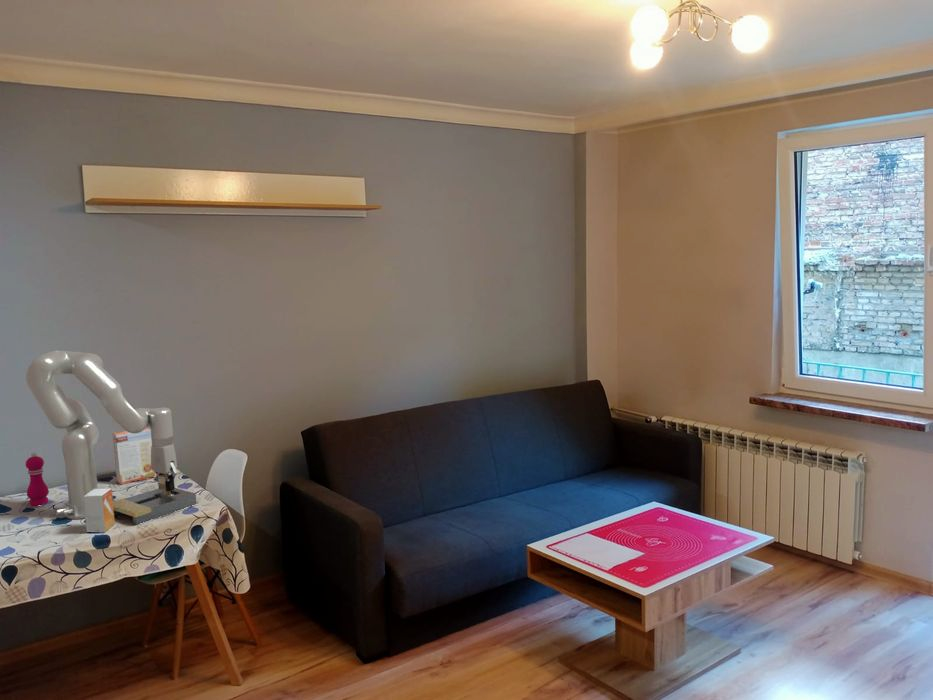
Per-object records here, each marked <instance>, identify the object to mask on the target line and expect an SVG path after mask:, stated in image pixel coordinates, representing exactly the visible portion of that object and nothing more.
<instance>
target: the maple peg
mask: <svg viewBox="0 0 933 700" xmlns="http://www.w3.org/2000/svg"><path fill="white" fill-rule="evenodd" d="M170 474H171V473H170ZM170 474H168V475H170ZM165 481H167V480H166V476H165V474H163V475H160V476H158V479H157V485H158V484H159V487H158V488H159V489H160V490H164V498H167V497H170V496H172V494H171V491H168V492H167V491H166V484H165ZM174 486H175V487H176V485H175V481H174Z"/></svg>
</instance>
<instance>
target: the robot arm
mask: <svg viewBox="0 0 933 700" xmlns="http://www.w3.org/2000/svg"><path fill="white" fill-rule="evenodd" d="M60 374H63V375H64V374H66V375H73V376H74V377H75V378H76V379H77V380H78V381H79V382H80V383H81V384H82V385H84V387H86V389H88V390H89V391H90V392H91V393H92V394H93V395H94V396H95V397H96V398H97V399H98V401H99V402H100V403H101V404H102V405H101V406H103V408H104V409H105V411H106V412H107V413H108V415H109V416H110V418H112V419H113V420H114V422H116V423H117V424H118V425H119V426H120V427H121V428H122V429H123V430H124V431H127V432H129V433H133V434H136V433H140V432H141V431H143V430H144V429H145V428H149V429H151V441H152V446H151V469H152V470H153V471H155V476H156V479H157V480H158V476H160V475H163V474H165V476H166V480H167V481H165V484H166V491H167V492H168V491H172V490H174V489H175V488H176V485H175V486H174V482H175V478H176V476H177V475H178V471H177V470H178V469H177V468H178V463H177V462H178V461H177V455H176V450H175V446H174V445H175V442H174V441H175V439H174V429H173V427H174V426H173V417H172V410H171V408H168V407H157V408H155V407H154V408H146V407H145V408H144V407H136V408H135V409H134V407H133V406H131V404H129V402H128V401H127V399H126V398H125V397H124V395H123V391H122V387H121V385H120V382H118V381H117V380H116V379H115V378H114V377H113V376H112V375H111V374H110V373H109V372H108V371H107V370H106V369H104V362H103V360H102V358H101V357H100V356H99V355H98V354H97V353H96V354H95V353H91V352H82V351H81V352H80V351H70V350H69V351H68V350H51V351H49V352H45V353H43V354H40V355H39V356H37V357H36V358H35V359H34V360H32V361H31V363H30V365H28V368H27V370H26V373H25V380H26V385H27V386H28V388H29V390H30V392H31V395H33V397H34V398H35V400H36V401H37V403H38V405H39V407H40V409H41V410H42V412H43V413H44V414H45V417H46V418H47V420H48V421H49V423H50V424H51V426H53V427H54V428H55V429H60V430H61V429H65V430H66V434H64V436H63V437H62V439H61V440H62V441H61V452H62V455H63V460H64V466H65V476H66V485H67V494H68V503H66V504H65V506H64V507H61V508H59V509H55V515H56V516H60V515H64V516H65V518H67V519H71V520H79V519H80V520H82V519H86V518H85V507H84V496H85V495H86V494H88V493H89V492H91V491H92V490H93V489H99V488H98V478H97V477H98V476H97V469H96V459H95V455H94V452H93V451H94V450H93V447H94V446H95V445H96V444H97V442H98V441H99V439H100V433H99V432H100V431H99V429H98V427H97V425H96V424H95V422H94V420H93V418H92V417H91V415H90V414H89V412H88V410H87V409H86V407H85V406H84V405H83V404H82V402H80V401H79V400H78V399H76V398H72V397H67V395H65V393H64V392H63V389H62V388H61V387H60V385H59V384H58V383H57V382H56V381H55V377H56V376H58V375H60ZM168 474H170V475H168ZM157 486H158V488H159V484H158V483H157Z"/></svg>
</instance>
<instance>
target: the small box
mask: <svg viewBox="0 0 933 700" xmlns="http://www.w3.org/2000/svg"><path fill="white" fill-rule="evenodd" d="M113 499H114V497H113V488H111V487H110V488H98V489H93V490H92V491H91V492H89V493H88V494H86V495H85V496H84V507H85V518H84V519H85V527H86V528H85V529H86V533H87V532H100V533H106V532H107V531H108V530H110V529H111V528H112V527H113V526H114V525H115V524H116V522H115V515H114V509H113V502H114V500H113ZM111 526H112V527H111Z"/></svg>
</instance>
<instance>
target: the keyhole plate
mask: <svg viewBox="0 0 933 700" xmlns="http://www.w3.org/2000/svg"><path fill="white" fill-rule="evenodd" d="M195 504H197V494H196V493H195V492H192V491H187V490H184V489H181V488H178V487H177V488H176V487H175V489H174V490H172V491H171V496H170V497H167V498H164V490H160V489H159V487H158V488H155V489H151V490H149V491H144V492H142V493H139V494H134V495H132V496H129V497H128V496H127V497H126V498H123V499H119V500H115V501H113V509H114V516H117V515H121V514H125V515H127V516H130V517H132V521H133V526H135V525H137V526H139V525H138V524H140V523H143V522H146V521H149V520H151V519H155V518H158V517H160V516H163V515H166V516H168V515H167V514H169V515H171V514H170V513H172V514H174V513H173V512H175V511H178V510H181V509H184V508H186V507H189V506H192V505H195ZM184 510H185V509H184ZM181 511H182V510H181ZM178 512H179V511H178ZM175 513H176V512H175ZM158 519H159V518H158ZM155 520H156V519H155ZM149 522H150V521H149ZM146 523H147V522H146ZM143 524H144V523H143ZM140 525H141V524H140Z"/></svg>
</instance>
